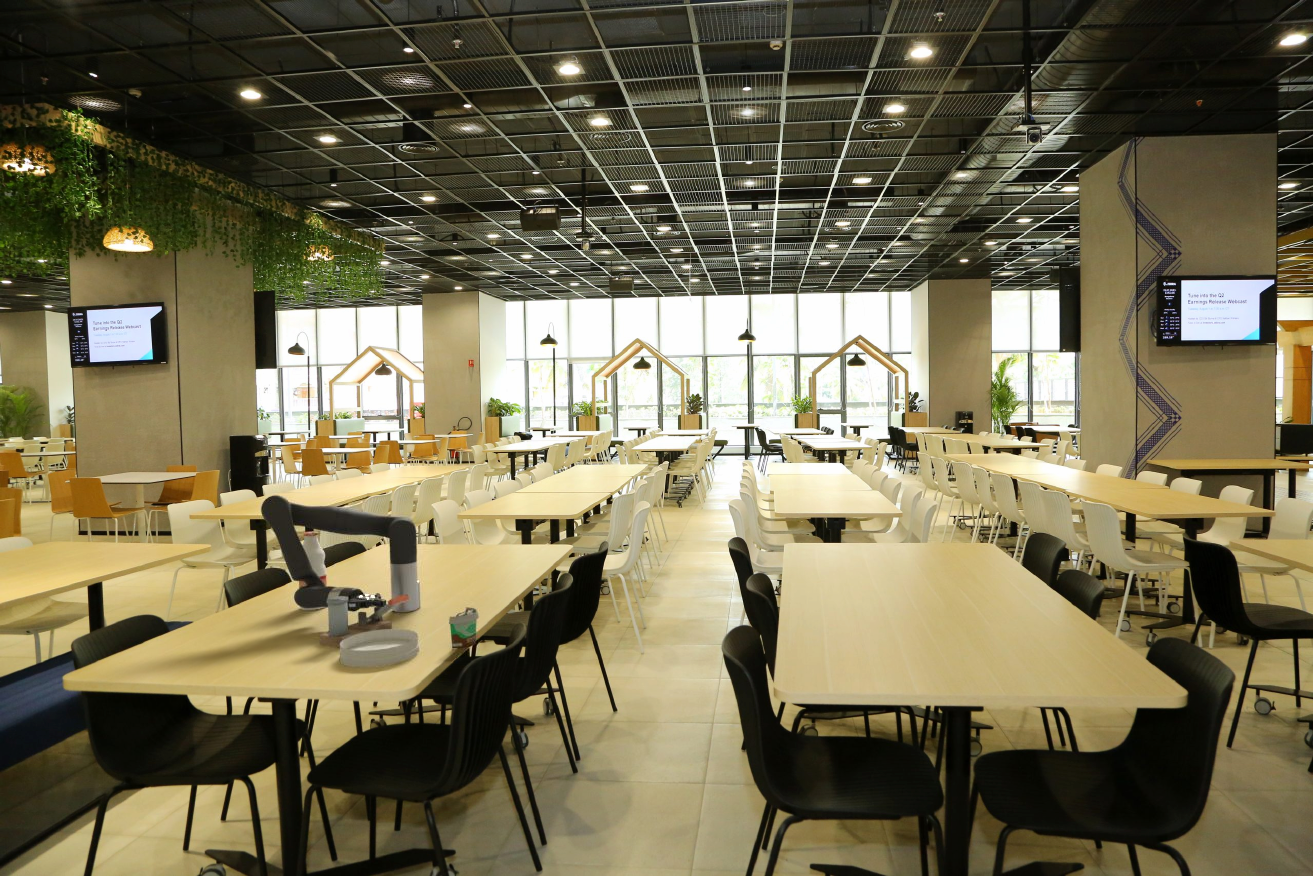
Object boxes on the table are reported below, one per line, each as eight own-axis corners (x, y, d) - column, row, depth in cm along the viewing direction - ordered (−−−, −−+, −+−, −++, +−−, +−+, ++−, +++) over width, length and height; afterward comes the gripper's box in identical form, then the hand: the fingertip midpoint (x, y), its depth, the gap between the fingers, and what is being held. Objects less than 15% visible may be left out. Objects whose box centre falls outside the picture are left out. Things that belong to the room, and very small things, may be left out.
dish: (373, 673, 219) (373, 655, 218) (323, 661, 230) (322, 644, 230) (435, 651, 237) (434, 634, 237) (385, 641, 249) (384, 625, 249)
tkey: (375, 615, 262) (406, 593, 255) (378, 621, 261) (409, 599, 255) (359, 620, 256) (390, 598, 249) (361, 626, 255) (393, 604, 249)
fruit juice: (327, 603, 300) (324, 529, 299) (327, 609, 291) (324, 533, 290) (300, 606, 296) (297, 531, 295) (299, 612, 288) (296, 535, 286)
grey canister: (339, 630, 251) (338, 595, 250) (353, 632, 248) (352, 597, 248) (323, 635, 245) (322, 600, 245) (338, 637, 242) (336, 601, 242)
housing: (369, 627, 264) (368, 605, 264) (391, 630, 260) (390, 608, 259) (319, 644, 246) (318, 620, 246) (343, 648, 242) (342, 624, 241)
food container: (469, 651, 235) (468, 617, 235) (449, 650, 237) (448, 617, 236) (486, 639, 247) (485, 607, 247) (467, 638, 249) (466, 606, 248)
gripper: (329, 591, 256) (368, 596, 249) (361, 583, 268) (399, 587, 260) (329, 615, 257) (369, 620, 249) (361, 605, 268) (400, 610, 261)
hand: (384, 603), depth 255 cm, fingers closed
